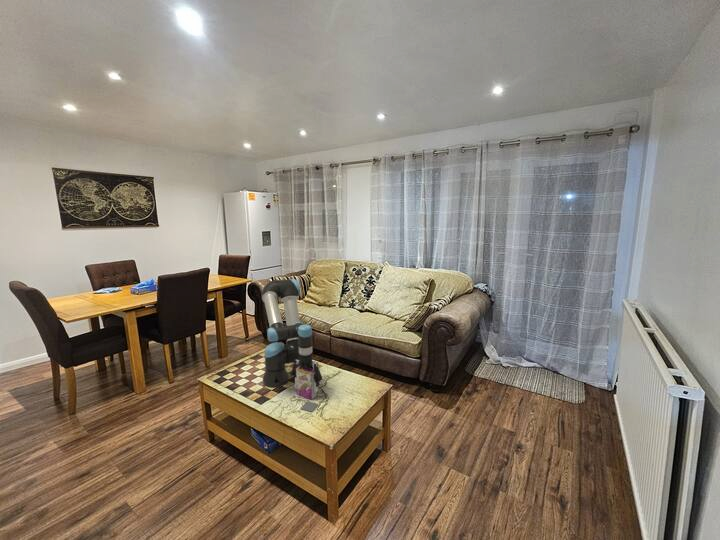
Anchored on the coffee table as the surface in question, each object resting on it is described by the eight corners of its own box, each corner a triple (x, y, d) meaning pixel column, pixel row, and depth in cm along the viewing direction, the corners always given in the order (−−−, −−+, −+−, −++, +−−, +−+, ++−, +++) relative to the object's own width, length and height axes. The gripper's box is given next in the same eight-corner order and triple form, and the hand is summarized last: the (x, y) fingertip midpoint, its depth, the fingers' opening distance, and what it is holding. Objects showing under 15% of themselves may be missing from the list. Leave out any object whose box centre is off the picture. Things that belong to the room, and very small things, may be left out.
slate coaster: (300, 409, 159) (300, 408, 159) (307, 402, 166) (307, 401, 166) (312, 412, 157) (312, 411, 157) (318, 404, 163) (318, 403, 163)
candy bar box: (296, 394, 173) (295, 367, 170) (302, 390, 177) (301, 364, 174) (311, 400, 167) (310, 372, 165) (317, 396, 171) (316, 369, 169)
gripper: (283, 352, 169) (284, 388, 172) (321, 359, 160) (322, 397, 164) (290, 347, 176) (292, 382, 179) (328, 353, 167) (328, 390, 171)
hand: (306, 389), depth 171 cm, fingers closed on candy bar box, 12 cm apart
